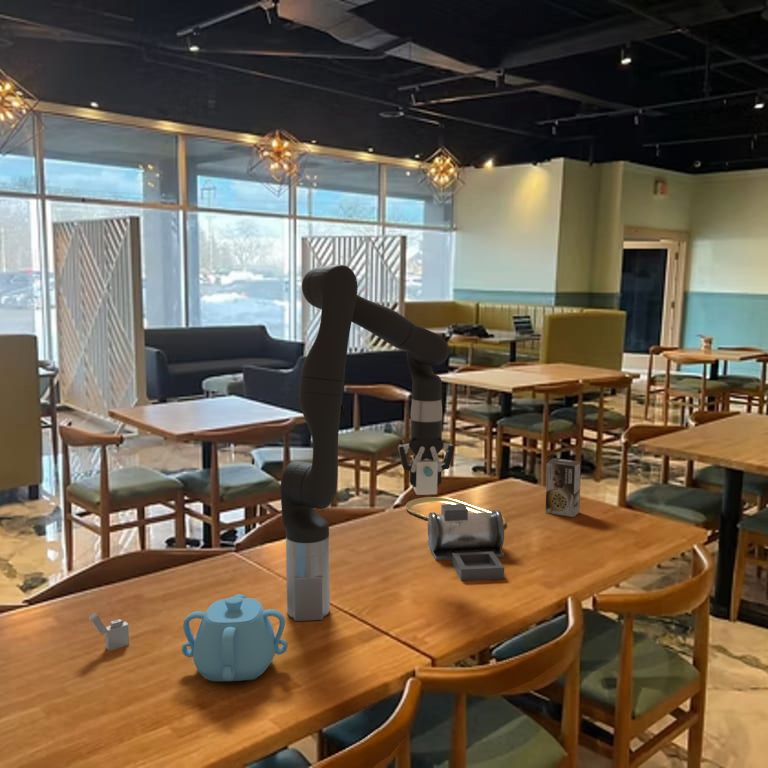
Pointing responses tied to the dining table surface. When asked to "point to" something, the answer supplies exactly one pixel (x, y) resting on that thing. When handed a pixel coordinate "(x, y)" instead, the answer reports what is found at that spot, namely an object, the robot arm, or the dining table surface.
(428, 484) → the white box with button
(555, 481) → the coffee box
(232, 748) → the dining table surface
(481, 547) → the motor
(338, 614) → the dining table surface
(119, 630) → the lighter
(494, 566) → the tray
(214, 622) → the decorative pot
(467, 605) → the dining table surface
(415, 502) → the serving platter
